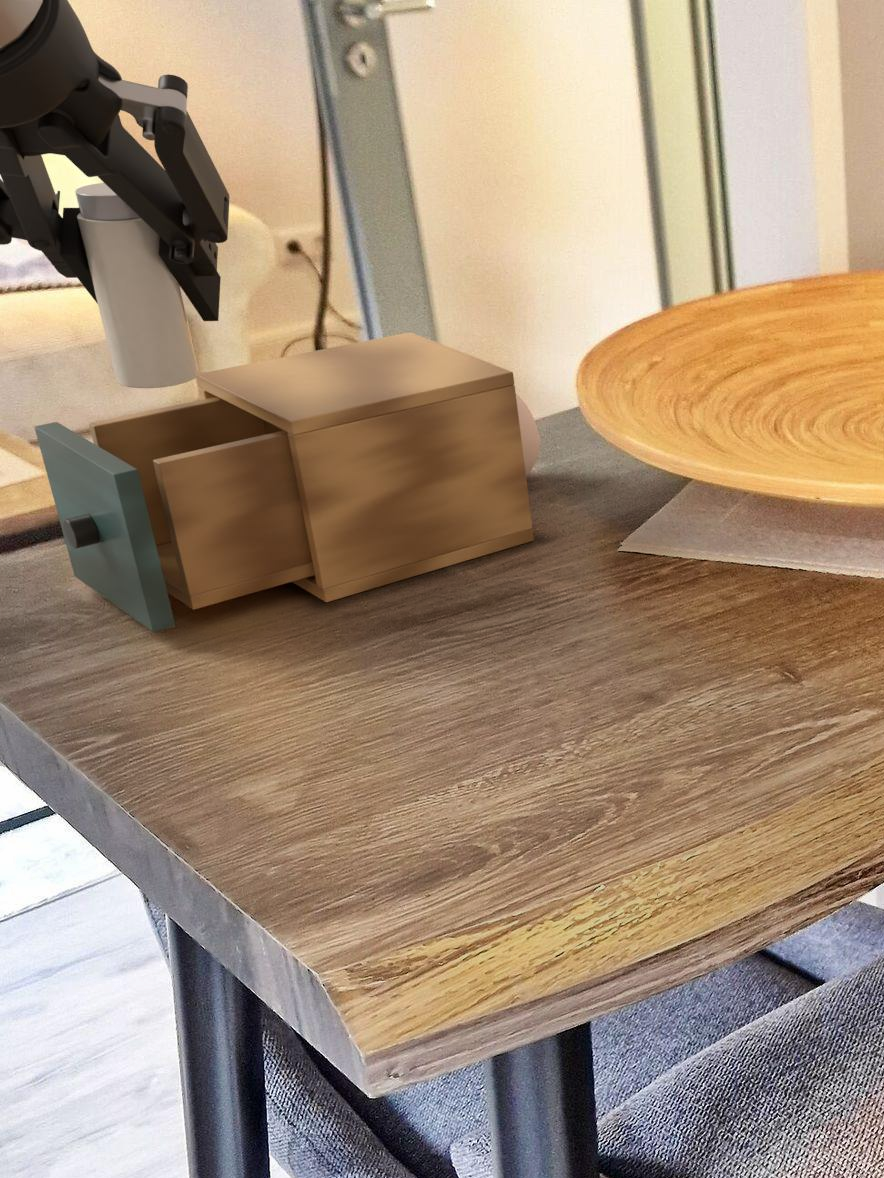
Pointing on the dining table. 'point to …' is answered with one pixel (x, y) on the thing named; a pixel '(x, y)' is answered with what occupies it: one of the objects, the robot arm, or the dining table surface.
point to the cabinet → (392, 455)
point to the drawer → (178, 507)
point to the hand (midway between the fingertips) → (166, 298)
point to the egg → (528, 435)
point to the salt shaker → (134, 294)
